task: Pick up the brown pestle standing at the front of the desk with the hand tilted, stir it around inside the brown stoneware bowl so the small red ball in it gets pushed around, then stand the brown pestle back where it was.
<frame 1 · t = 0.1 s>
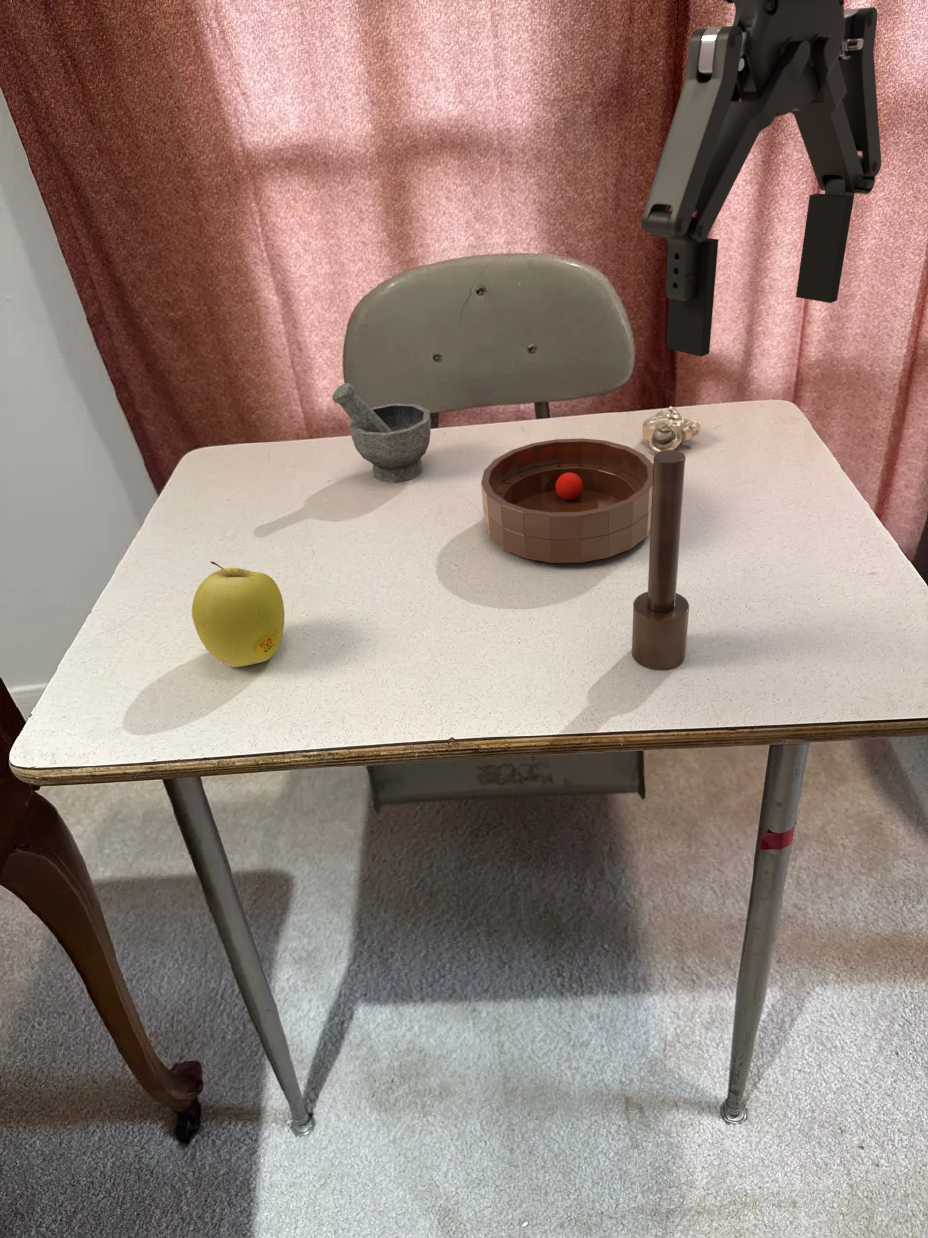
hand: (755, 323, 55), 27 cm above the table, tool pointing down, fingers open, 13 cm apart
ornament: (670, 444, 103), on the table
red ball: (569, 486, 91), point 2 cm above the table, touching bowl
brown pestle: (658, 653, 70), on the table
bowl: (568, 525, 89), on the table
apple: (252, 653, 76), on the table
mortar and pestle: (392, 473, 104), on the table
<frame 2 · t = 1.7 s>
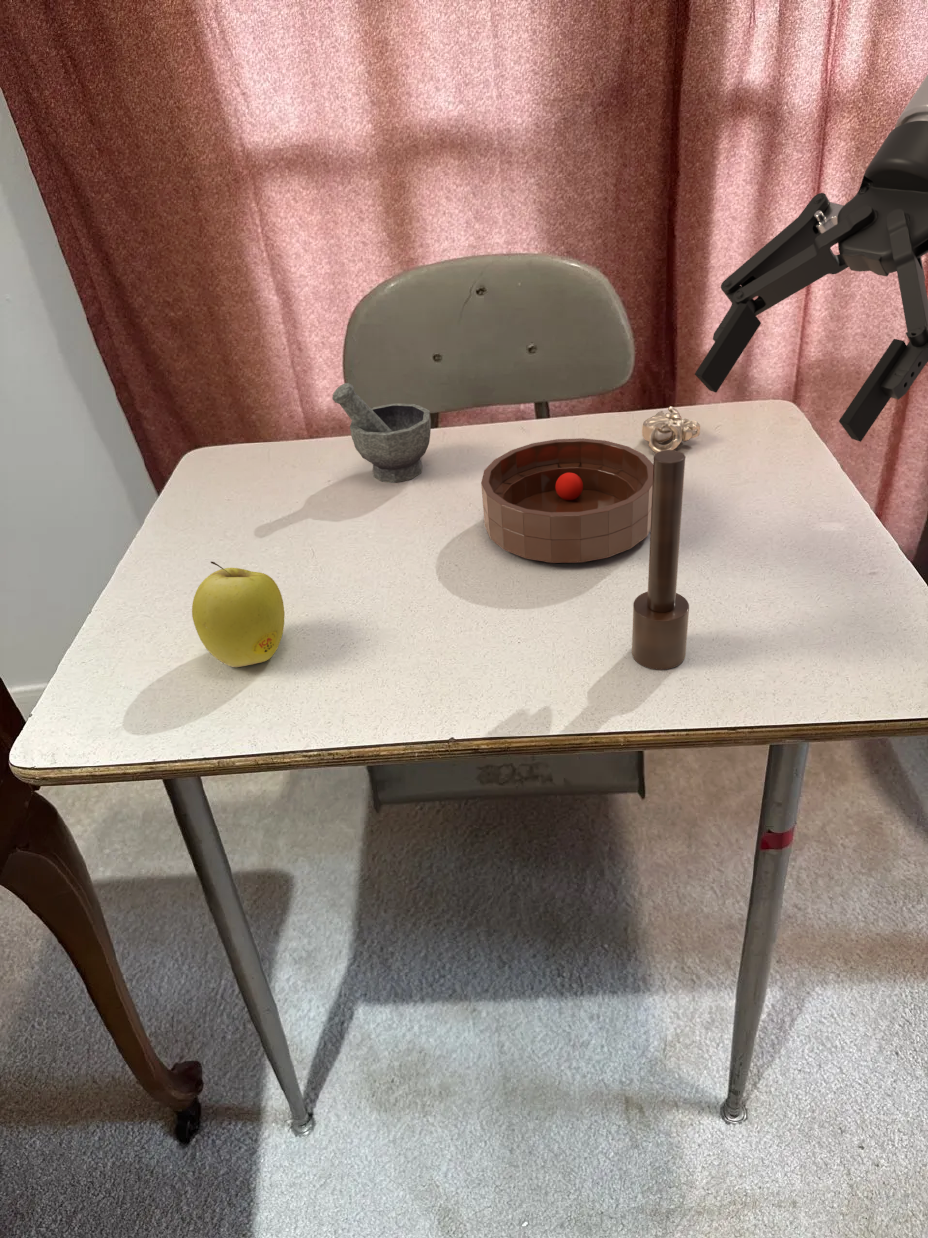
hand: (771, 406, 64), 19 cm above the table, tool tilted 45°, fingers open, 13 cm apart
nothing on the table moved.
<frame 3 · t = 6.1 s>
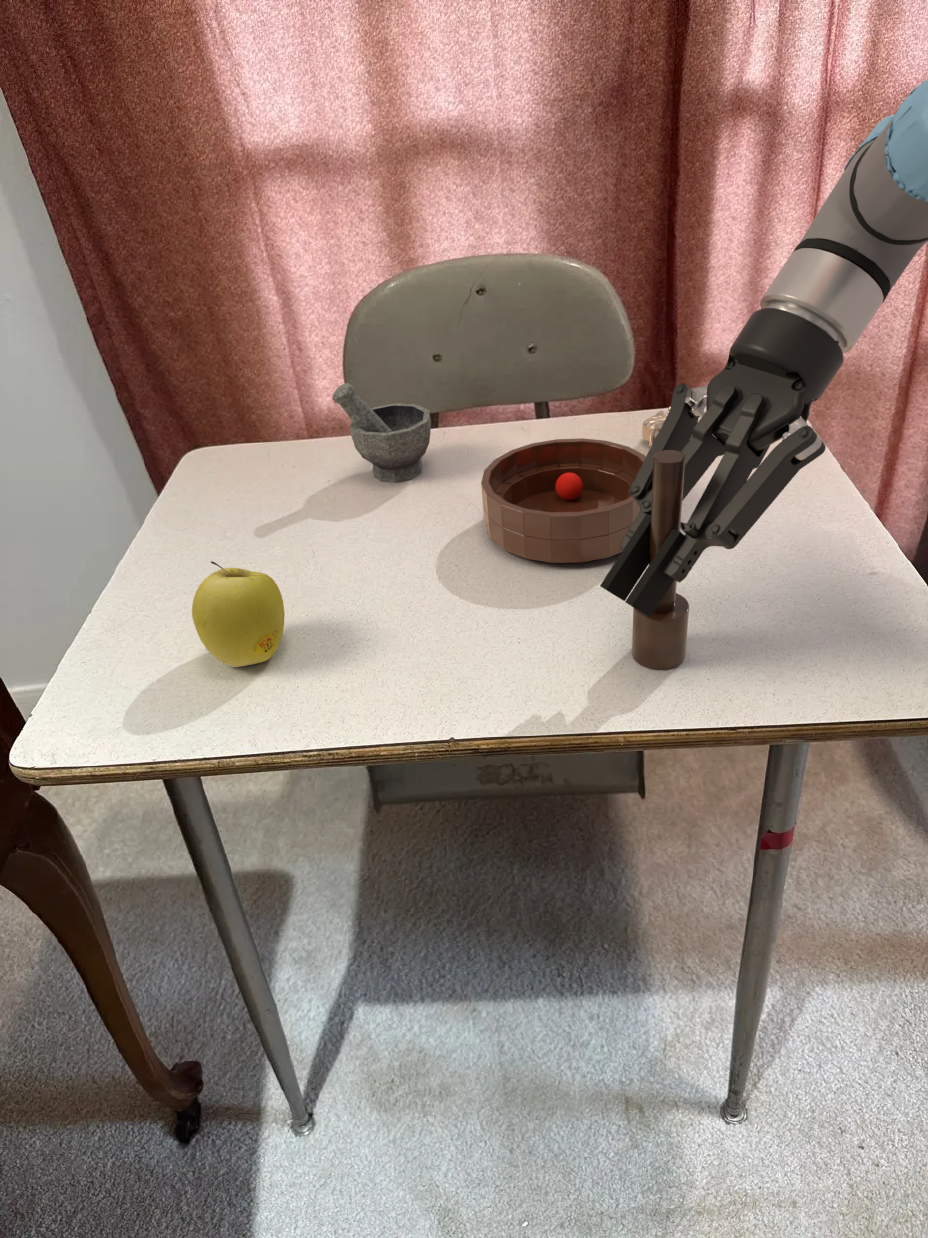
hand: (625, 601, 65), 7 cm above the table, tool tilted 45°, fingers closed on brown pestle, 2 cm apart
brown pestle: (658, 653, 70), on the table, touching gripper
everything else where it was.
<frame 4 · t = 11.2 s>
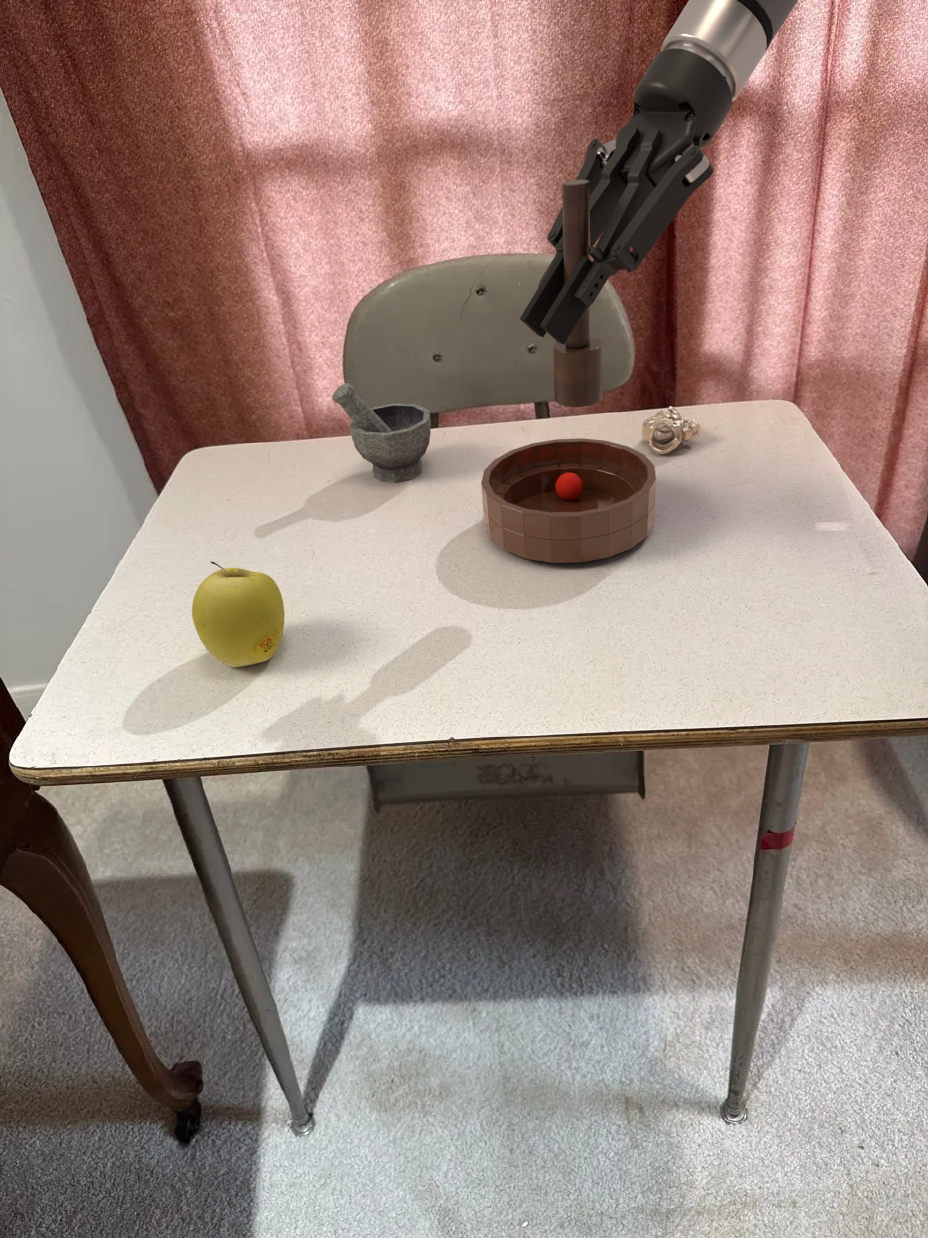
hand: (541, 331, 72), 22 cm above the table, tool tilted 45°, fingers closed on brown pestle, 2 cm apart
brown pestle: (578, 398, 77), point 15 cm above the table, touching gripper
everything else where it was.
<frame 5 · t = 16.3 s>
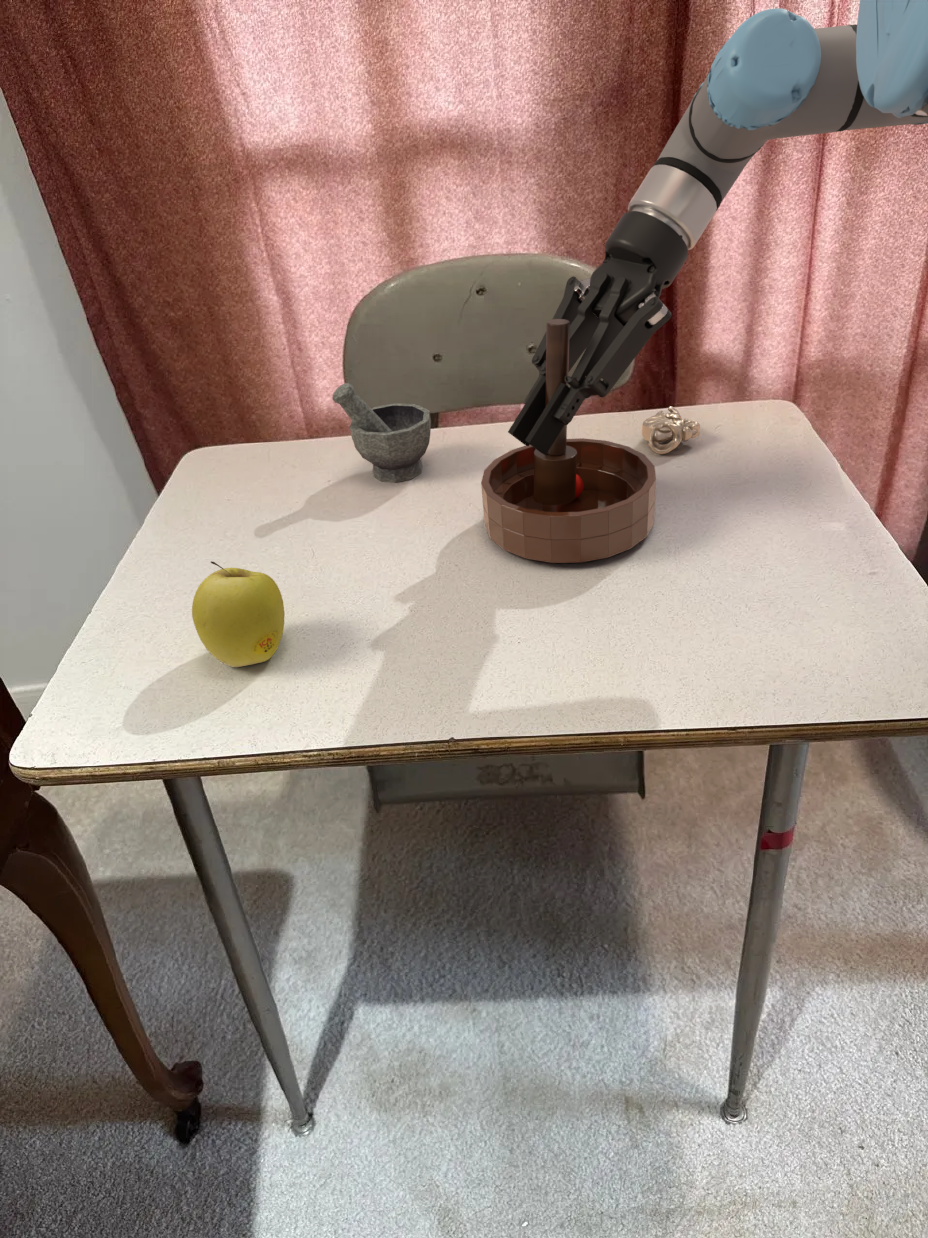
hand: (526, 443, 84), 10 cm above the table, tool tilted 45°, fingers closed on brown pestle, 2 cm apart
red ball: (569, 486, 91), point 2 cm above the table, touching bowl, brown pestle
brown pestle: (554, 496, 89), point 3 cm above the table, touching gripper, red ball
everything else where it was.
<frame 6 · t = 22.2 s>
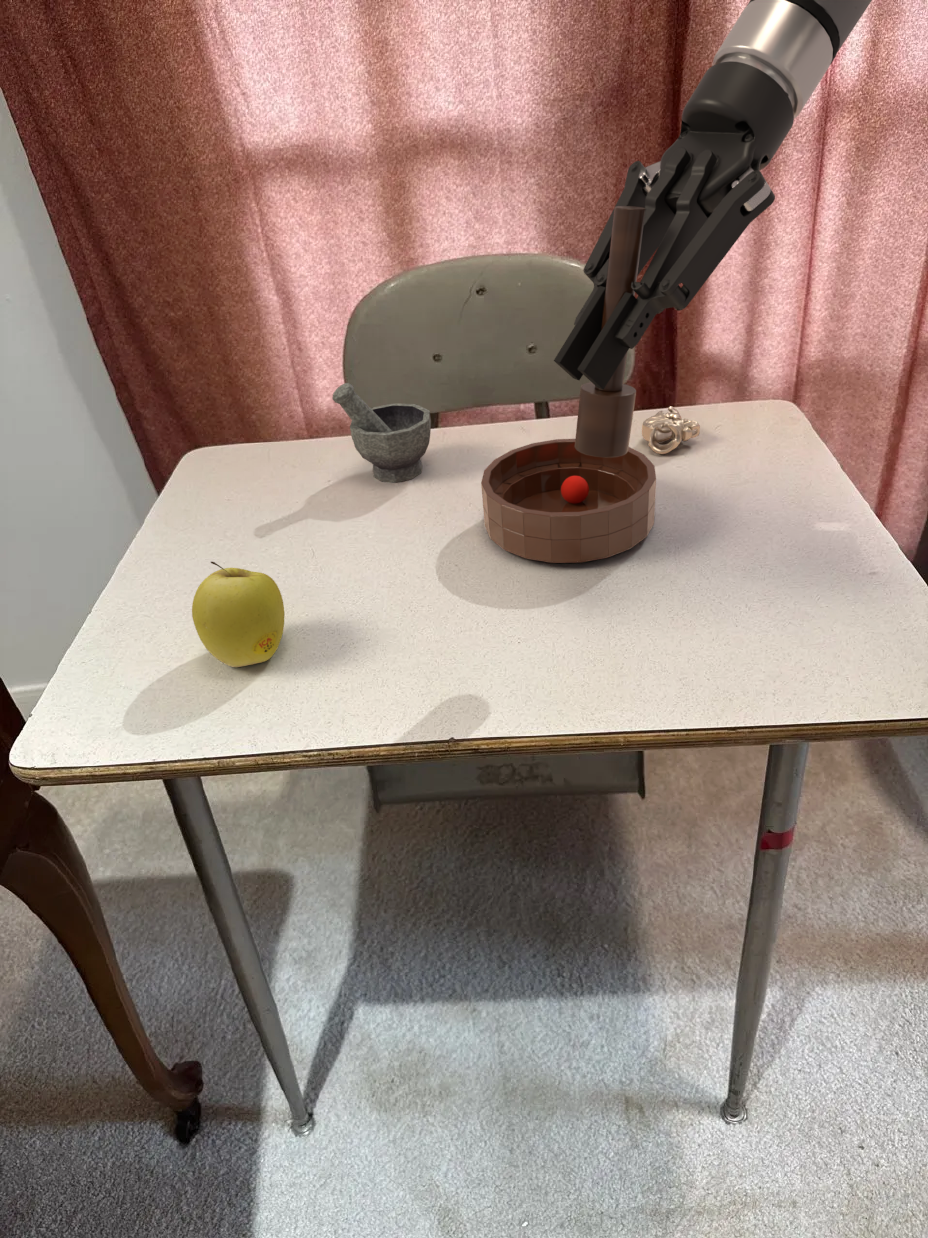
hand: (578, 374, 64), 22 cm above the table, tool tilted 45°, fingers closed on brown pestle, 2 cm apart
red ball: (574, 489, 91), point 2 cm above the table, tilted 37°, touching bowl
brown pestle: (601, 448, 69), point 15 cm above the table, tilted 9°, touching gripper
everything else where it was.
when the fingers open (7 cm above the table, at t = 27.6 s): brown pestle stays where it is, on the table.
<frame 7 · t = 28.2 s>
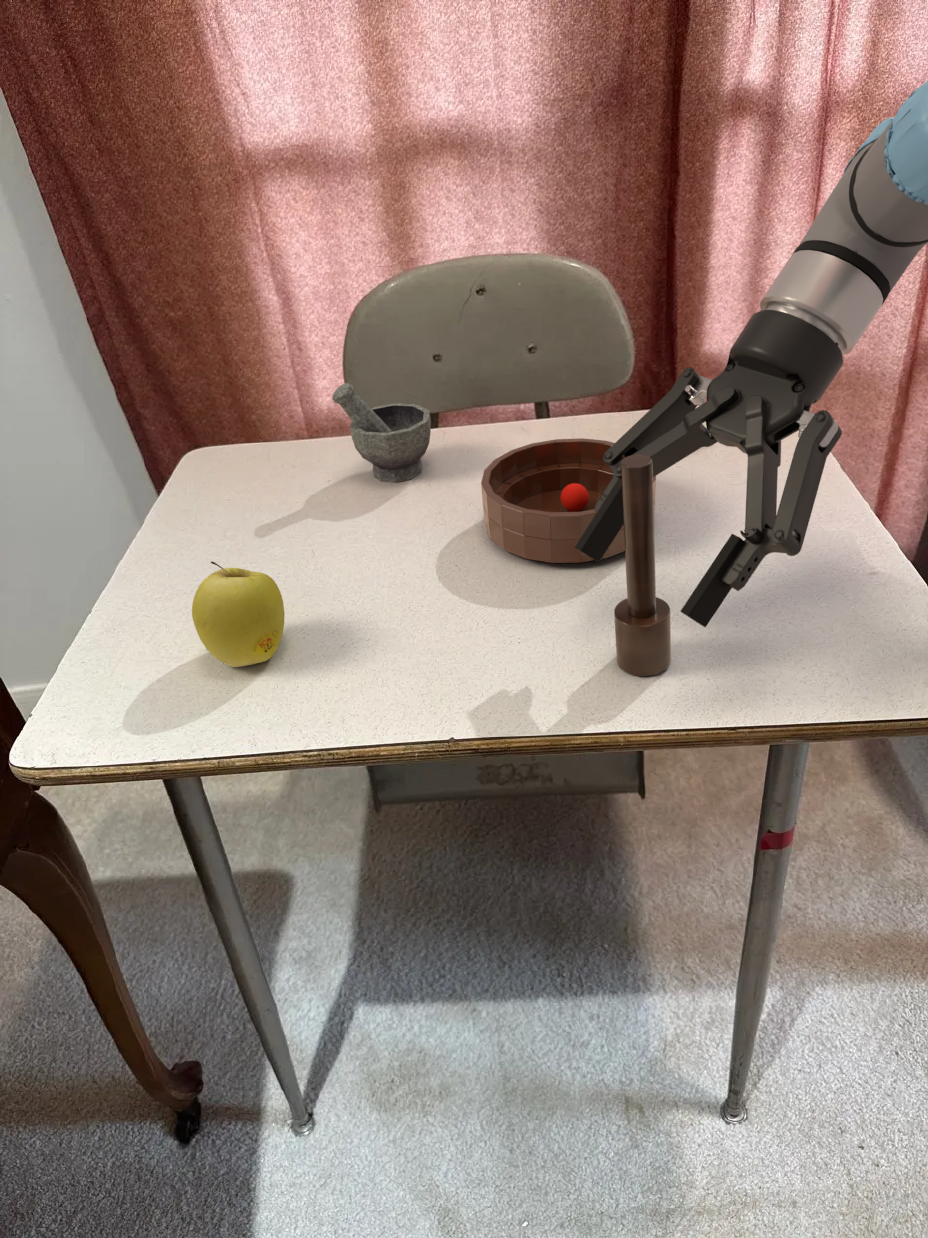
hand: (636, 585, 64), 8 cm above the table, tool tilted 45°, fingers open, 11 cm apart
red ball: (574, 497, 89), point 2 cm above the table, tilted 98°, touching bowl
brown pestle: (643, 659, 70), on the table
everything else where it was.
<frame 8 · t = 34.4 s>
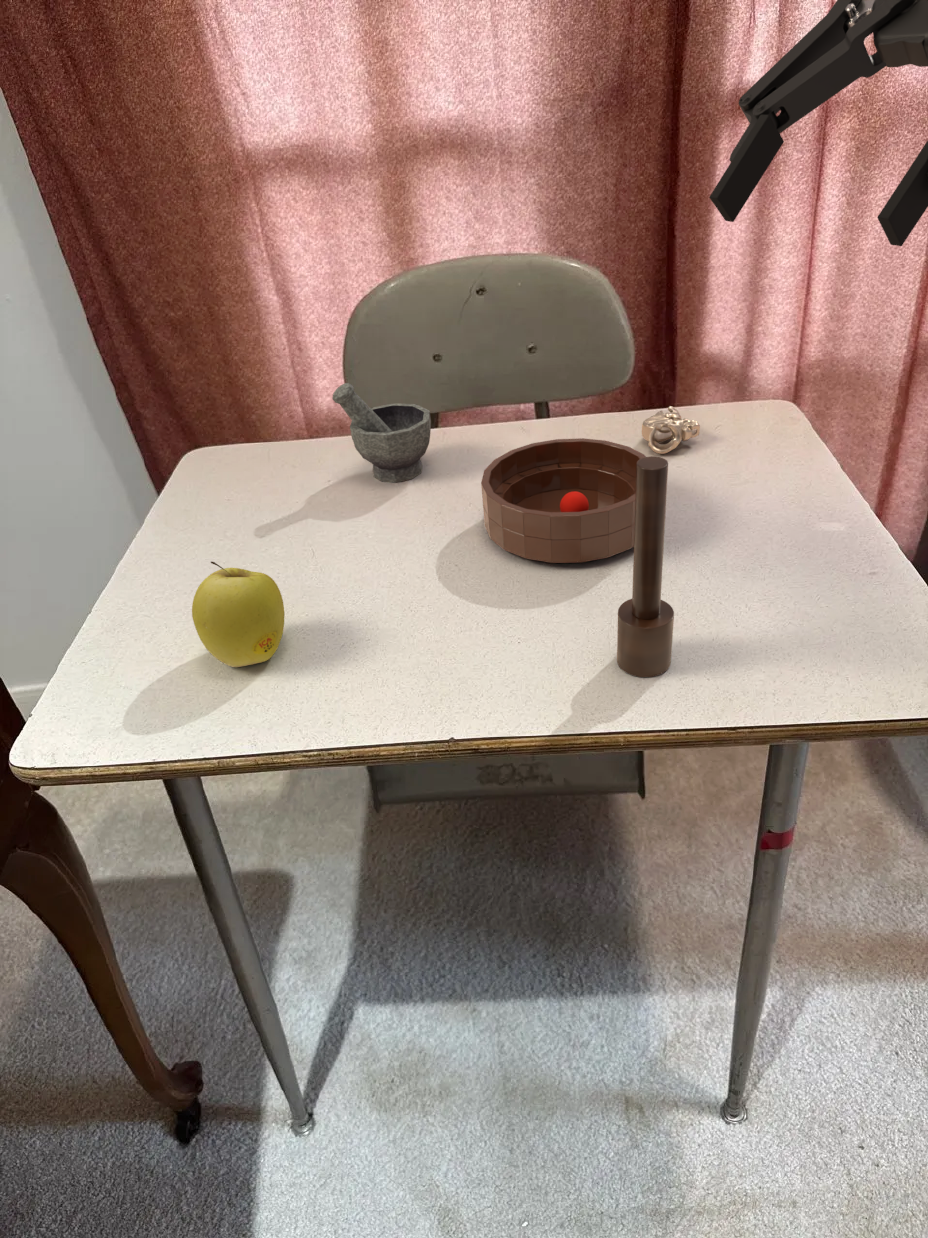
hand: (797, 220, 56), 32 cm above the table, tool tilted 45°, fingers open, 13 cm apart
red ball: (574, 505, 88), point 2 cm above the table, tilted 155°, touching bowl
at the end: red ball moved 4.6 cm from its start; red ball inside the target area in the bowl (0.6 cm from its centre), point 2.3 cm above the bowl's base; brown pestle inside the target area (1.6 cm from its centre), on the table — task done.
